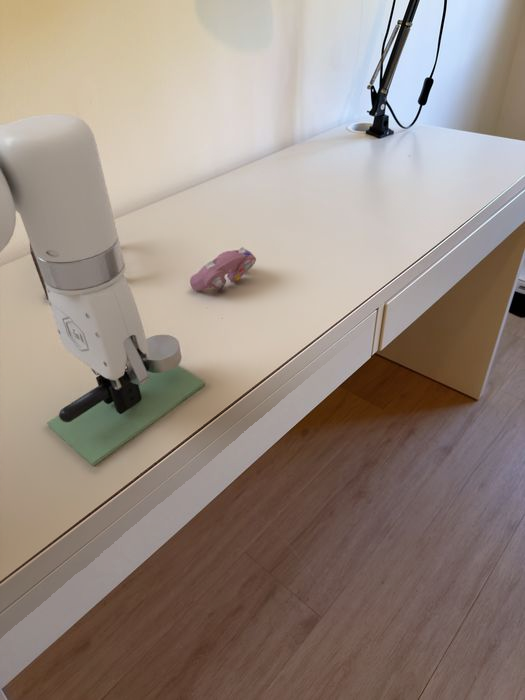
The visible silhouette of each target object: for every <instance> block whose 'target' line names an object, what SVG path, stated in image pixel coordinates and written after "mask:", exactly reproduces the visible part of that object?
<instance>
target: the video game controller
mask: <svg viewBox="0 0 525 700" xmlns="http://www.w3.org/2000/svg"><path fill="white" fill-rule="evenodd" d="M256 262H257V257H256V256H255V255H254V254H253V253H252V252H251V251H250V250H248V249H245V248H244V247H243V246H242V247H240V248H239V249H237V250H236V249H235V250H234V249H233V250H227V251H223V252H221V253H220V254H218V255H217V256H216V257H215V258H214V259H213V260H211V261H209V262H207V263H206V264H205V265H203V266H202V267H201V268H200V270H199V271H197V272H196V273H195V274H192V276H191V277H190V278H189V279H190V280H189V284H190V287H191V288H192V289H193V290H194V291H196V292H203V291H205V290H207V289H213V290H215V291H219V290H221V289H222V288H224V286H226V284H227V279H228V280H229V281H230V282H231V283H235V282H237V281H239V280H240V279H241V278H242V277H243V275H245V273H246V272H247V271H249V270H250V269H252V267H253V266H254V265H255V264H256ZM225 277H227V279H226V278H225Z"/></svg>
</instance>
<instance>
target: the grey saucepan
mask: <svg viewBox="0 0 525 700" xmlns="http://www.w3.org/2000/svg"><path fill="white" fill-rule="evenodd" d="M146 341H147V346H148V359H147V361H143V360H142V362H143V364H144V366H145V368H146V370H147V371H148V372H151V373H164V372H167V371H170V370H172V369H174V368H175V367H177V366H180V364H181V362H182V352H181V346H180V342H179V340H178V339H177V338H176V337H175V336H173V335H169V334H156V335H152V336H150V337H146ZM126 370H127V367H126V368H125V371H126ZM111 385H112V384H111V381H110V379H109V380H107V381H105V382H104V383H102V384H101V385H99V386H96V387H94V388H92V389H91V390H89V391H88V392H86V393H85V394H83V395H82V396H80V397H79V398H77V399H76V400H74V401H72V402H71V403H69V404H67V405H66V406H64V407H63V408H61V409H60V411H59V413H58V415H59V417H60V419H61V420H62V421H63V422H71V421H72V420H74V419H76V418H77V417H79V416H80V415H82V414H83V413H85V412H86V411H88V410H89V409H91V408H92V407H94V406H95V405H97V404H98V403H100V402H101V401H103V400H105V399H106V398H108V397H109V396H111V392H110V389H109V387H110V386H111Z"/></svg>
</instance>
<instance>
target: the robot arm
mask: <svg viewBox="0 0 525 700" xmlns="http://www.w3.org/2000/svg"><path fill="white" fill-rule="evenodd" d="M17 213H18V214H19V216H20V218H21V222H22V224H23V226H24V227H23V228H24V229H25V233H26V235H27V238H28V240H29V245H30V244H31V247H32V249H33V252H34V255H35V258H36V261H37V263H38V266H39V269H40V272H41V275H42V277H43V280H44V283H45V286H46V290H47V295H48V302H49V306H50V310H51V313H52V317H53V319H54V323H55V326H56V329H57V333H58V336H59V339H60V341H61V344H62V346H63V347H64V349H66V351H68V353H70V354H71V355H73V357H75V358H76V359H78V360H79V361H80V362H82V363H83V364H84V365H86V366H87V367H89V368H90V370H91V372H92V373H93V374H94V375H95V376H96V377H95V381H96V383H97V385H98V386H99V385H101V384H102V383H104V382H105V381H107V380H109V379H110V381H111V384H112V385H111V386H110V387H109V389H110V392H111V396H109V397H108V398H106V399H105V400H103V401H104V402H105V403H106V404H110V403H112V402H114V405H115V408H116V411H117V412H118V413H119V414H122V413H124V412H125V411H127V410H128V409H130V408H131V407H133V406H134V405H135V404H137V403H138V402H140V401H141V399H142V397H141V393H140V389H139V385H141V384H142V383H144V382H145V381H147V380H148V379H149V375H148V373H147V370H146V368H145V366H144V364H143V362H142V360H143V361H147V359H148V346H147V341H146V339H147V336H146V333H145V329H144V325H143V321H142V319H141V315H140V313H139V309H138V306H137V303H136V300H135V298H134V294H133V292H132V289H131V286H130V285H129V281H128V279H127V277H126V275H125V273H126V263H125V259H124V256H123V249H122V247H121V242H120V239H119V234H118V230H117V225H116V221H115V217H114V213H113V208H112V204H111V199H110V195H109V192H108V187H107V183H106V178H105V174H104V171H103V166H102V162H101V158H100V154H99V149H98V145H97V142H96V139H95V135H94V133H93V130H92V128H91V127H90V125H89V124H88V123H86V121H85V120H83V119H81V118H80V117H78V116H74V115H71V114H70V115H69V114H63V113H50V114H49V113H48V114H40V115H34V116H28V117H25V118H21V119H18V120H15V121H13V122H11V123H5V124H3V123H2V124H0V253H2V251H4V249H5V248H6V247H7V246H8V244H9V243H10V242H11V240H12V237H13V235H14V233H15V229H16V223H17ZM126 368H127V370H126V371H125V369H126ZM98 386H97V387H98Z"/></svg>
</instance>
